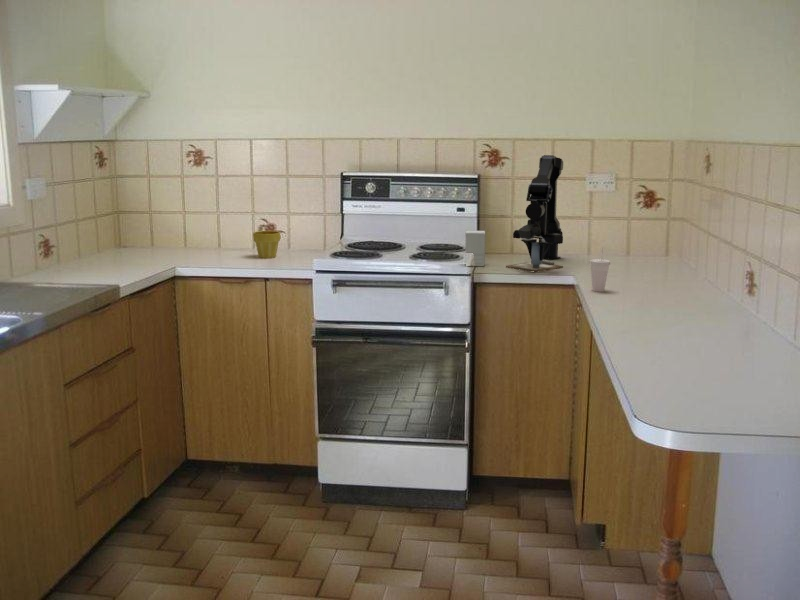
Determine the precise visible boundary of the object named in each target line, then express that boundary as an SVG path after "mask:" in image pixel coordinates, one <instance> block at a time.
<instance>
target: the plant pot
mask: <svg viewBox="0 0 800 600" xmlns="http://www.w3.org/2000/svg"><path fill="white" fill-rule="evenodd" d="M252 233H253V236H252V238H253V242H254V243H255V246H256V250H257V255H258V257H259V258H260V259H273V258H276V257H277V253H278V247H279V242H280V241H281V232H280V231H277V230H259V231H258V230H256V231H254V232H252Z"/></svg>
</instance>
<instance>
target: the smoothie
mask: <svg viewBox="0 0 800 600" xmlns="http://www.w3.org/2000/svg"><path fill="white" fill-rule="evenodd" d="M603 253H604V247H602V246H601V248H600V258H597V259H596V258H595V259H594V258H593V259H590V260H589V264H590V270H591V271H590V274H591V286H592V287H591V288H592V289H591V290H592V291H593V292H600V293H603V292H605V289H606V284H607V279H608V278H607V277H608V275H609V274H608V273H609V267H610V265H611V260H608V259H603Z"/></svg>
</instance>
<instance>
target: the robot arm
mask: <svg viewBox="0 0 800 600" xmlns="http://www.w3.org/2000/svg"><path fill="white" fill-rule="evenodd" d="M538 168H539V169H538V173H537V175H536V177H533V178H532V179H531V182H530V184H528V188H527V193H526V194H527V195H526V202H530V203H529V204H528V205H527V206H526V209H525V215H526V217H527V218H528V219H527V223H526V224H524V225H523V226H522V227H520V228H519V229H515V230H514V231H513V233H512V238H513V239H520V241H521V242H523V243H524V244H525V246H526V248H527V251H528V254H529V257H530V259H531V251H532V242H538V244H539V245H540V261H543V259H545V260H557V259H561V256H558V254H559V245H561V244H563V243H564V235H563V234H564V233H563V231H562V228H561V223H560V221H559V220H558V218H557V197H558V195H557V192H558V189H557V188H558V179H559V178H560V177H561V174H562V171H563V170H564V161H563V159H562V158H561V157H557V156H556V155H548V154H547V155H546V154H544V155H541V157H539V163H538ZM537 240H538V241H537Z"/></svg>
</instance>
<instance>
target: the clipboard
mask: <svg viewBox="0 0 800 600" xmlns="http://www.w3.org/2000/svg"><path fill="white" fill-rule="evenodd" d="M507 267H508V269H513V268H514V269H515V270H519V269H520V270H521V271H525V270H527V271H526V272H531V271H534V272H533V273H539V272H538V271H541V272H545V271H544V270H546V271H551V270H550V269H552V270H557V269H556V268H558V269H562V268H564V266H563V265H559V264H555V263H554V262H550V261H545V260H544V261H543V260H542V264H541V265H540V266H539V268H538V269H535V268H533V264H531V261H526V262H520V263H513V264H508V265H507V264H506V265H505V268H507Z"/></svg>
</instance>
